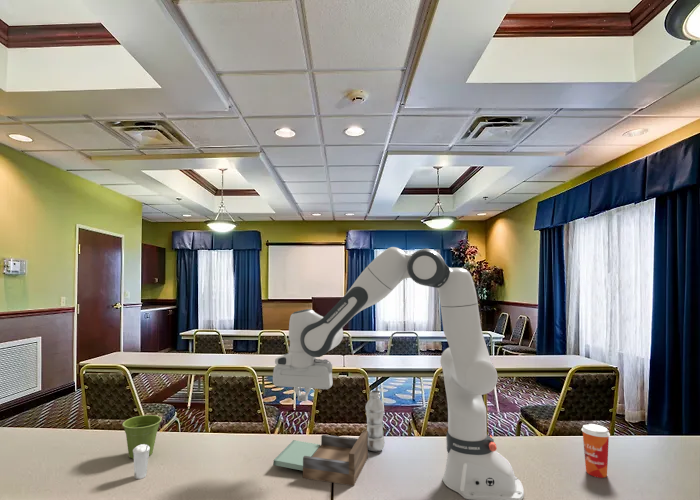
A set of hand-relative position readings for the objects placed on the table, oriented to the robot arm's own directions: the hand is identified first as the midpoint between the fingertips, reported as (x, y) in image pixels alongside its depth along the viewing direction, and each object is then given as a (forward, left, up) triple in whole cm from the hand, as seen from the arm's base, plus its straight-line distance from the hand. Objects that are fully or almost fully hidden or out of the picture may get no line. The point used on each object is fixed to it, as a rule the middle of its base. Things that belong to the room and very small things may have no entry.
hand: (302, 400), depth 134 cm
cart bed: (-12, +1, -20) cm, 23 cm away
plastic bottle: (-21, -15, -20) cm, 33 cm away
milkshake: (+43, +23, -20) cm, 52 cm away
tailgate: (-4, +1, -17) cm, 17 cm away
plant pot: (+54, +11, -20) cm, 58 cm away
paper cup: (-91, -18, -20) cm, 95 cm away
